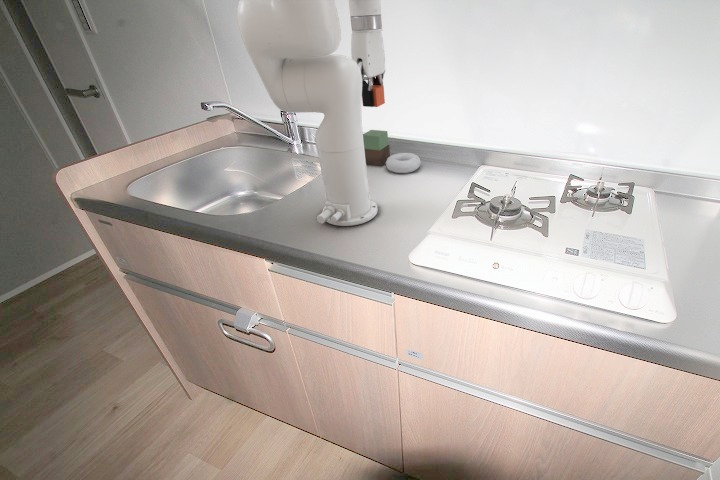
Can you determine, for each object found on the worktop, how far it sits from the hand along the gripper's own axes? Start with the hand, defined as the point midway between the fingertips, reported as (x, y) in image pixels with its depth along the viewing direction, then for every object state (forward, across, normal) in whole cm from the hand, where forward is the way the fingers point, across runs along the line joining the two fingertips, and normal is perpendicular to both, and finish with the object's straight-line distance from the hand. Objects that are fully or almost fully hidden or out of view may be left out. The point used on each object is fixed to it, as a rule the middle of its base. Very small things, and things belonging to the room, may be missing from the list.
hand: (373, 103), depth 100 cm
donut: (+17, +2, +9) cm, 19 cm away
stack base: (+17, 0, -1) cm, 17 cm away
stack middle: (+12, 0, -1) cm, 12 cm away
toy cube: (0, 0, 0) cm, 0 cm away
